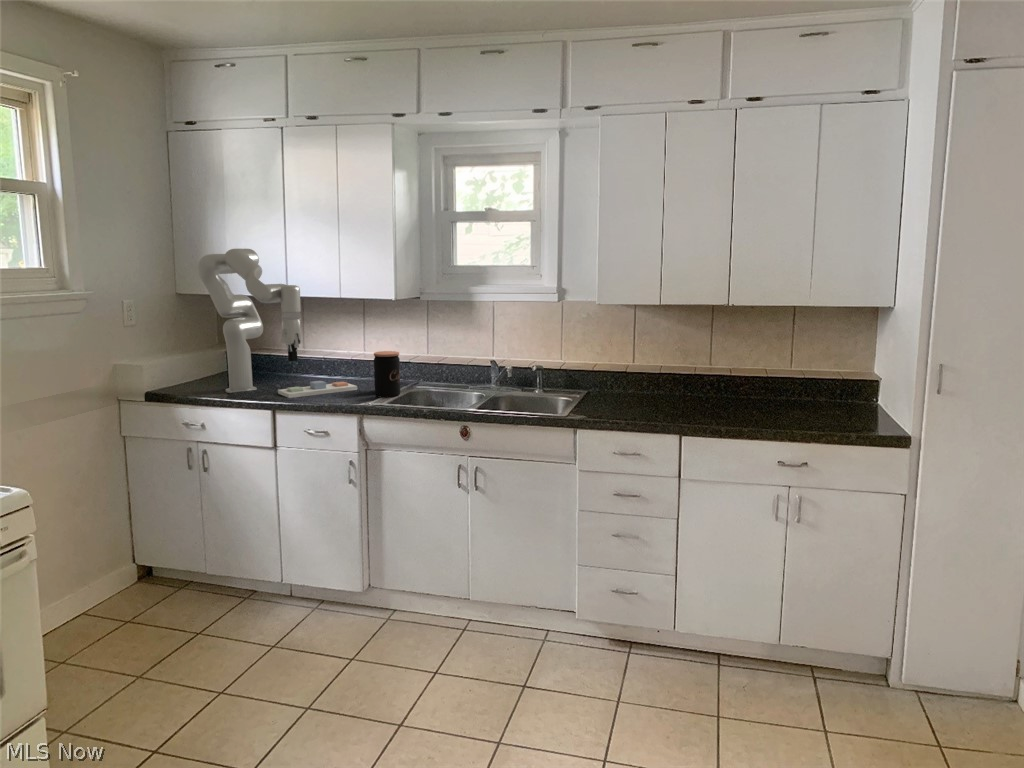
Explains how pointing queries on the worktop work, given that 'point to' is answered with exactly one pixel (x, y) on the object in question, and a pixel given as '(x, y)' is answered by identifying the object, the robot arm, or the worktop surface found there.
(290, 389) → the sage button
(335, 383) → the terracotta button
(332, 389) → the button panel
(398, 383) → the coffee jar
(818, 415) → the worktop surface
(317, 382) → the slate button
